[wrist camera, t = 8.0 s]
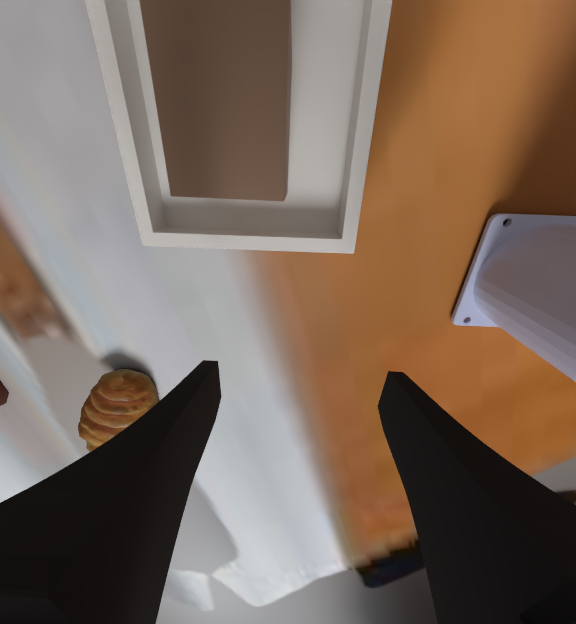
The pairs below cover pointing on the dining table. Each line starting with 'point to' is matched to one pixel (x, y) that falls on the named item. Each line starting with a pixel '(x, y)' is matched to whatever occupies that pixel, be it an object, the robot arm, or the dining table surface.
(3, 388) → the ice cream bowl
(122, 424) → the pastry
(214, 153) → the beige block
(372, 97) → the bin
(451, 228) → the dining table surface
